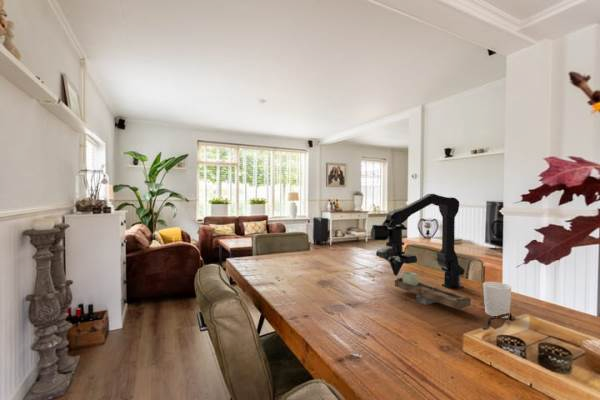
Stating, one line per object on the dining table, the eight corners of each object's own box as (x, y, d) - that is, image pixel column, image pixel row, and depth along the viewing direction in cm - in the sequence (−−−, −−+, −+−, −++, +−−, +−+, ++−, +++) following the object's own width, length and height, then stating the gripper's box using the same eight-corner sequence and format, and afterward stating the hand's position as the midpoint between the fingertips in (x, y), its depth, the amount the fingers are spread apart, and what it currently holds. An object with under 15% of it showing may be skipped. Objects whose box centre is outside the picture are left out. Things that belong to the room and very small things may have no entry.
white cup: (516, 320, 91) (516, 289, 91) (489, 318, 92) (489, 288, 92) (504, 310, 98) (503, 282, 98) (479, 308, 100) (479, 281, 100)
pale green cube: (402, 283, 117) (402, 272, 117) (409, 282, 119) (409, 271, 119) (411, 286, 113) (410, 275, 113) (418, 285, 115) (417, 274, 115)
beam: (393, 292, 118) (393, 279, 118) (408, 289, 122) (408, 276, 122) (455, 317, 93) (455, 300, 93) (472, 312, 97) (472, 296, 97)
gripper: (366, 238, 128) (367, 272, 128) (397, 244, 111) (398, 283, 111) (385, 236, 133) (385, 269, 133) (417, 242, 116) (418, 279, 116)
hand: (395, 275), depth 123 cm, fingers closed
